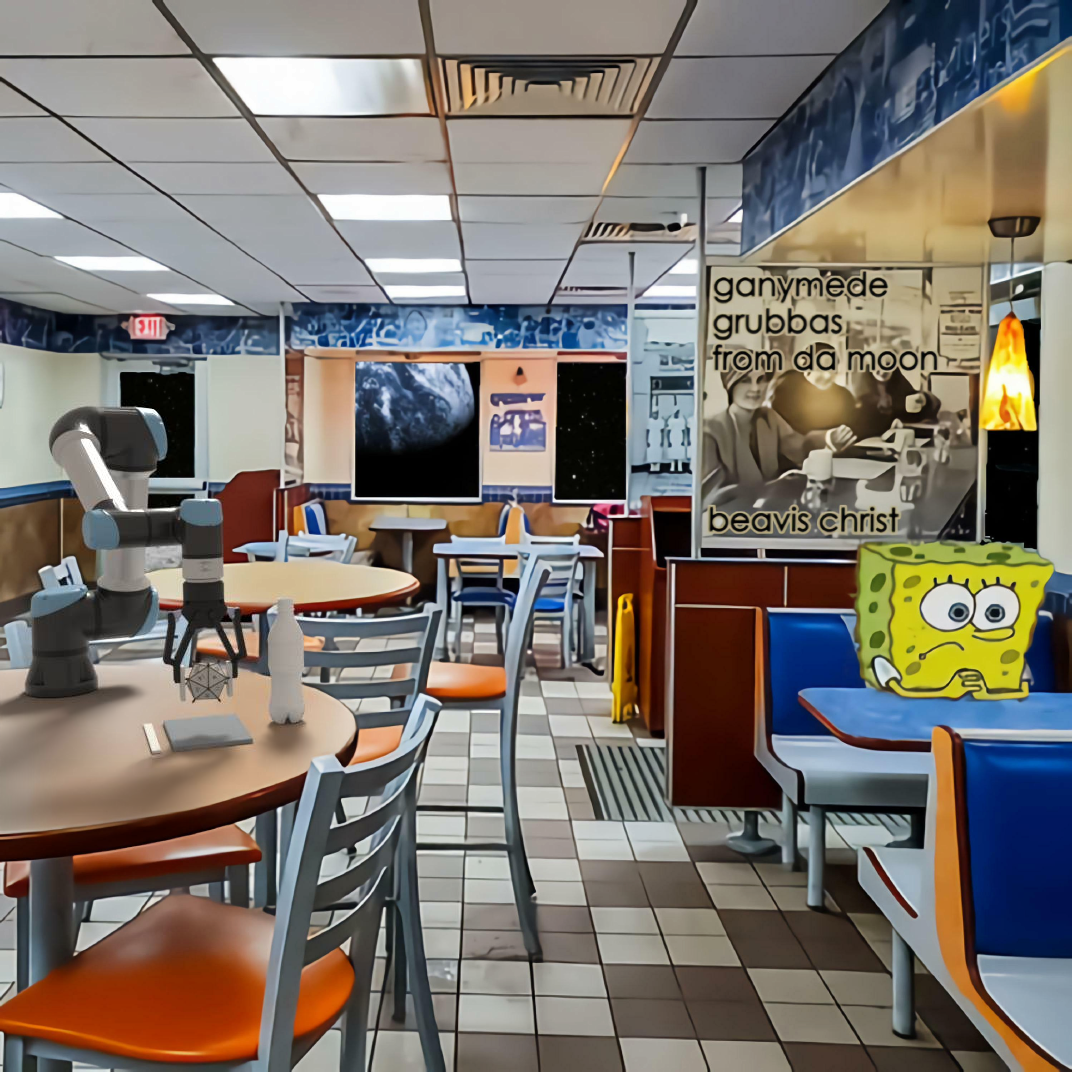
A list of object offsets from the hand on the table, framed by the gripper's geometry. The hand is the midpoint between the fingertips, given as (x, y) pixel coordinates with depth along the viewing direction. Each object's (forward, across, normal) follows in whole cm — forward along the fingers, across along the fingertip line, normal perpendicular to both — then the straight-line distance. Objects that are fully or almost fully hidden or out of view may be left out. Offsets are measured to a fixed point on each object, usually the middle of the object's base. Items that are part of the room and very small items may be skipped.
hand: (206, 697), depth 202 cm
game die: (+1, 0, 0) cm, 1 cm away
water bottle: (+7, +16, +3) cm, 18 cm away
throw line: (+7, -10, 0) cm, 12 cm away
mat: (+7, 0, 0) cm, 7 cm away
